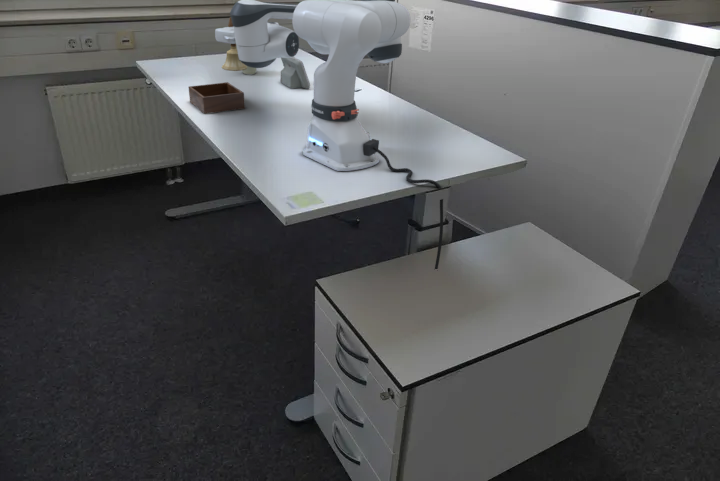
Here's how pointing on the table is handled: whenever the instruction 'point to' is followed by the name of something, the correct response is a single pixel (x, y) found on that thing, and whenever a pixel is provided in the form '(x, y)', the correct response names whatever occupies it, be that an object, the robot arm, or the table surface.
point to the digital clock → (294, 73)
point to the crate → (216, 97)
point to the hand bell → (233, 57)
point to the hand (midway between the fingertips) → (230, 29)
